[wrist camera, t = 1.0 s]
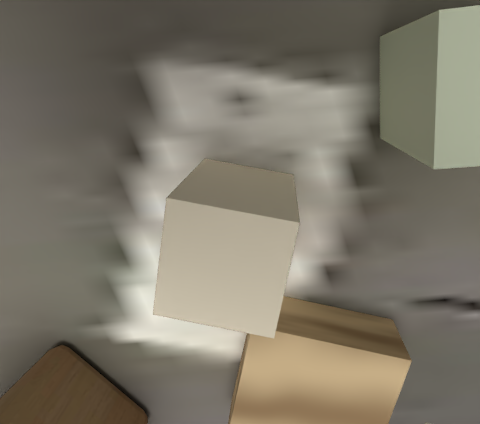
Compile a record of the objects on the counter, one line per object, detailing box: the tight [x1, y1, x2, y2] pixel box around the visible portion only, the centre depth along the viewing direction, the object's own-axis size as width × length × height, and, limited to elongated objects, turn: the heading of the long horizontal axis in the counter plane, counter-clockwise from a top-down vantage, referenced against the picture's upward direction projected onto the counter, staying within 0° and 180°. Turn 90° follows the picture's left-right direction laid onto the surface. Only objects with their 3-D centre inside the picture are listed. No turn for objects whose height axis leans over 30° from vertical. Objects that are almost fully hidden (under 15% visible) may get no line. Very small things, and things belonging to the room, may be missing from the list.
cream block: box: [153, 159, 300, 338], centre depth 24 cm, size 6×6×10 cm
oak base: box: [228, 296, 412, 424], centre depth 30 cm, size 10×10×5 cm
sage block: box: [380, 5, 480, 169], centre depth 21 cm, size 6×6×10 cm
